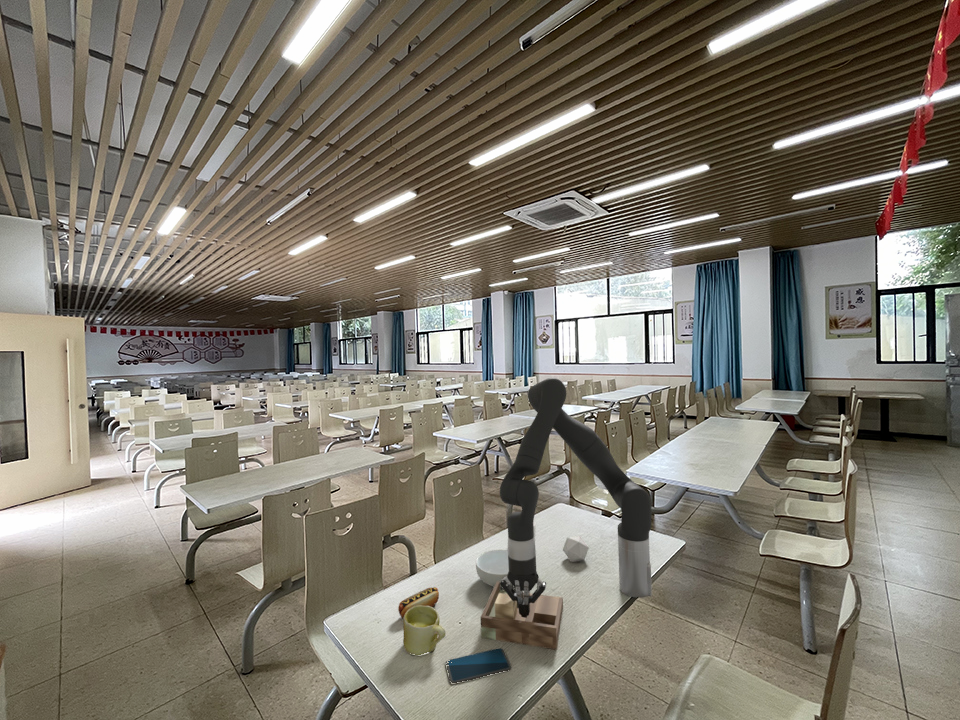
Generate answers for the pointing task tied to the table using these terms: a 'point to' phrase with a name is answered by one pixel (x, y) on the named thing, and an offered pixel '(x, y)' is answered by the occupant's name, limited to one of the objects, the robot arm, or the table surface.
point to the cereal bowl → (492, 566)
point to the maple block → (505, 607)
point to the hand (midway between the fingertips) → (524, 615)
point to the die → (575, 548)
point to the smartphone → (478, 665)
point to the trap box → (525, 622)
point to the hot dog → (419, 600)
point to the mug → (421, 630)
